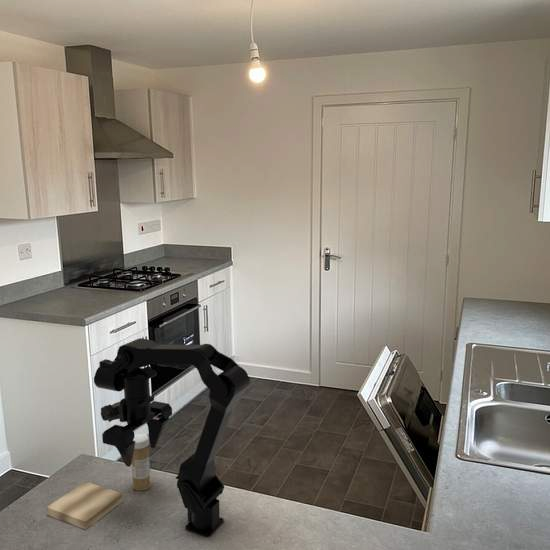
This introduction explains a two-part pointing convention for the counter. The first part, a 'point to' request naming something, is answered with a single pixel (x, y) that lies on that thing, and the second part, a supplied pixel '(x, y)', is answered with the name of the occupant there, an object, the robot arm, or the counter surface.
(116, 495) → the tan block
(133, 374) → the robot arm
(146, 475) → the sprinkles bottle
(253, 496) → the counter surface
